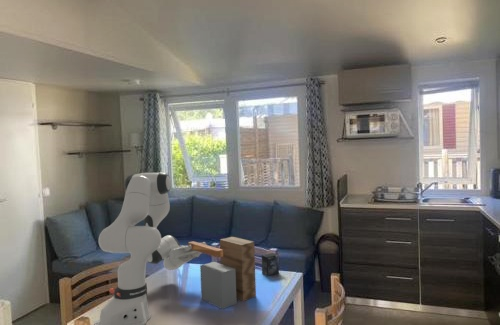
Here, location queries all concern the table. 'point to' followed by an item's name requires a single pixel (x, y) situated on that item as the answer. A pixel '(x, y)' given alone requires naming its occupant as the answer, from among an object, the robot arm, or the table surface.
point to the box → (270, 264)
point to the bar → (206, 249)
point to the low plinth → (218, 284)
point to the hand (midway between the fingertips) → (195, 245)
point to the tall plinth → (240, 264)
